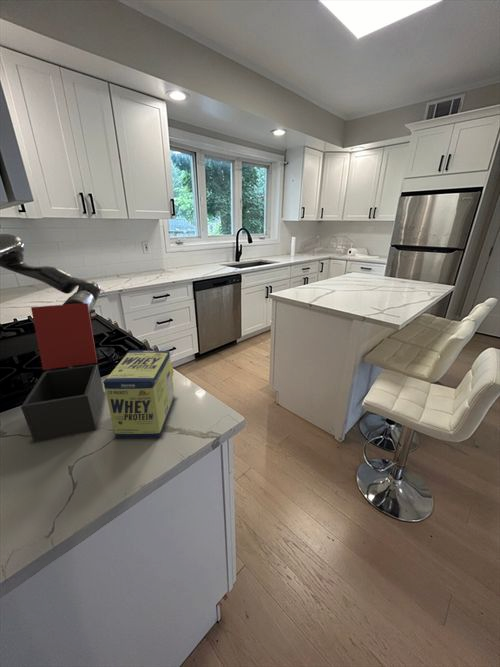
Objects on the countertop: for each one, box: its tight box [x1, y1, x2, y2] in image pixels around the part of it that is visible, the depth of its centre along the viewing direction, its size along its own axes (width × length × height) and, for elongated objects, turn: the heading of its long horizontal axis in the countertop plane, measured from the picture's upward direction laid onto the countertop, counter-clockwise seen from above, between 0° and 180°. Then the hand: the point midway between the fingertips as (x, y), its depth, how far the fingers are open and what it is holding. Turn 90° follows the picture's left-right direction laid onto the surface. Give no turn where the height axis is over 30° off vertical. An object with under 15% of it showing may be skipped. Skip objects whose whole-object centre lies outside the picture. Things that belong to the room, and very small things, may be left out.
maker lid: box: [30, 303, 98, 371], centre depth 73 cm, size 16×13×1 cm
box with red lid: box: [20, 363, 105, 443], centre depth 69 cm, size 16×13×10 cm
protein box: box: [102, 350, 176, 439], centre depth 68 cm, size 10×16×16 cm
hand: (64, 325), depth 73 cm, fingers closed
